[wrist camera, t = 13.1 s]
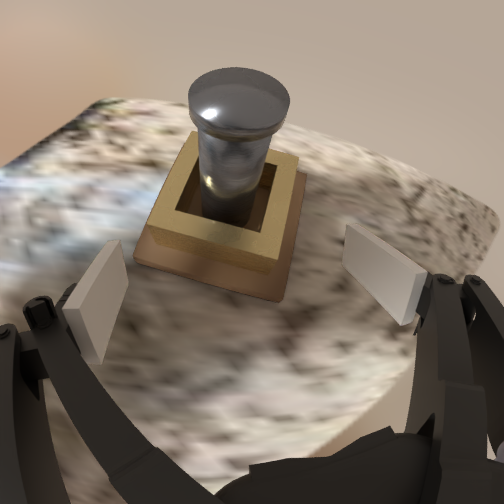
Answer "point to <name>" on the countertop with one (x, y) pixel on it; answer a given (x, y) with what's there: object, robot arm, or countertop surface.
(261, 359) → the countertop surface
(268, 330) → the countertop surface
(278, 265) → the socket base
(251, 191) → the pin
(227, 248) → the square socket frame
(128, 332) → the countertop surface
